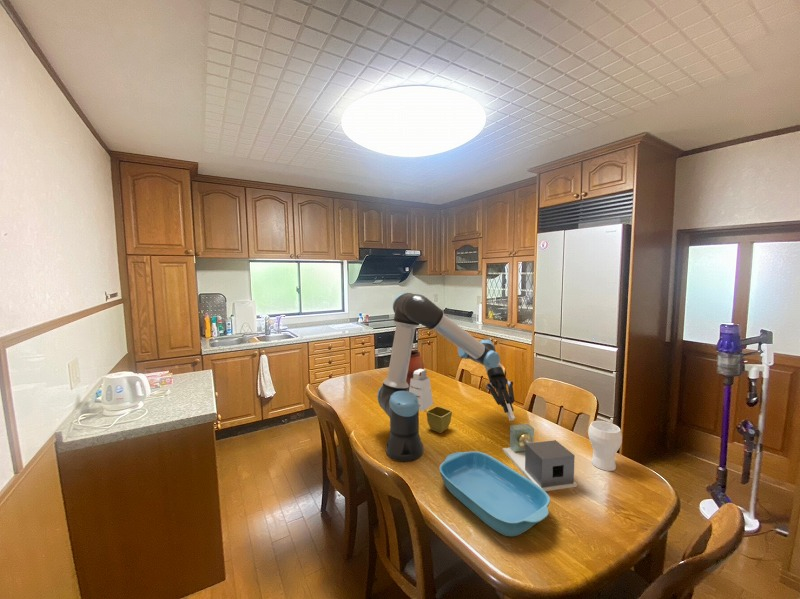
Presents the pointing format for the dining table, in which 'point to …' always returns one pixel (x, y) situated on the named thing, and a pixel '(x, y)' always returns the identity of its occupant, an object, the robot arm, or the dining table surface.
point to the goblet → (414, 365)
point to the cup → (604, 444)
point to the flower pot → (439, 418)
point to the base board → (519, 461)
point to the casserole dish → (495, 492)
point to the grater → (424, 385)
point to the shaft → (521, 436)
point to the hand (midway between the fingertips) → (512, 419)
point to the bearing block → (549, 463)
